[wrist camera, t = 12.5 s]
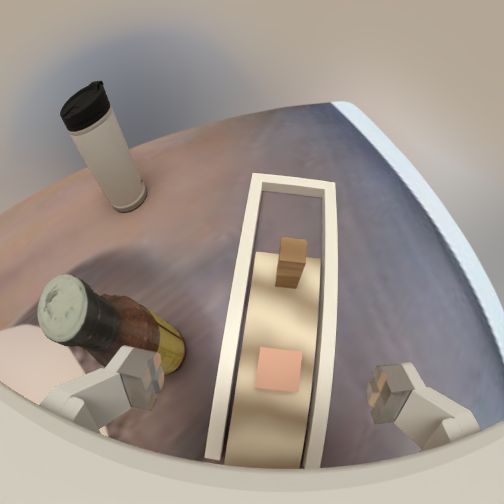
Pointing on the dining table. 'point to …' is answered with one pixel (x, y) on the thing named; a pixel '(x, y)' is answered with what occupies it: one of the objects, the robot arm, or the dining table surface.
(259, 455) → the pale strip
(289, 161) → the dining table surface
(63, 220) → the dining table surface
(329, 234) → the guide rails
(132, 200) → the travel mug
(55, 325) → the sauce bottle
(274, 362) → the terracotta block
